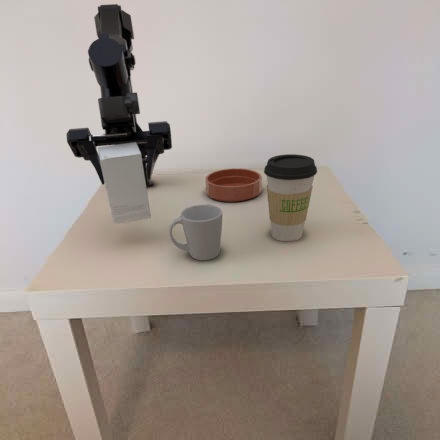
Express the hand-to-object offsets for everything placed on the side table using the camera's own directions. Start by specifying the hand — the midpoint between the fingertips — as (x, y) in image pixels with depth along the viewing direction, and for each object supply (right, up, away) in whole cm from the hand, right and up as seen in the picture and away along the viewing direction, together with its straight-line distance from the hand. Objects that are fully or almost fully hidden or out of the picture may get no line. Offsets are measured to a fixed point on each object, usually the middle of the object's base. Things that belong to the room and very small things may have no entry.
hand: (125, 181), depth 74 cm
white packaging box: (0, -5, +6) cm, 8 cm away
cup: (+13, -13, +3) cm, 19 cm away
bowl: (+21, +5, +29) cm, 36 cm away
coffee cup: (+31, -9, +8) cm, 33 cm away
